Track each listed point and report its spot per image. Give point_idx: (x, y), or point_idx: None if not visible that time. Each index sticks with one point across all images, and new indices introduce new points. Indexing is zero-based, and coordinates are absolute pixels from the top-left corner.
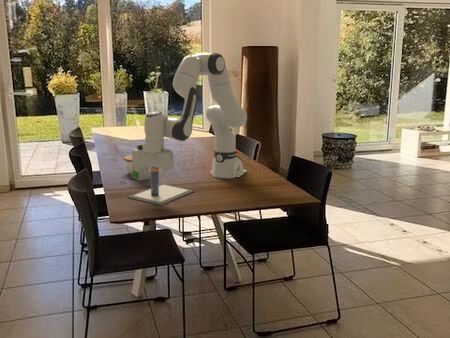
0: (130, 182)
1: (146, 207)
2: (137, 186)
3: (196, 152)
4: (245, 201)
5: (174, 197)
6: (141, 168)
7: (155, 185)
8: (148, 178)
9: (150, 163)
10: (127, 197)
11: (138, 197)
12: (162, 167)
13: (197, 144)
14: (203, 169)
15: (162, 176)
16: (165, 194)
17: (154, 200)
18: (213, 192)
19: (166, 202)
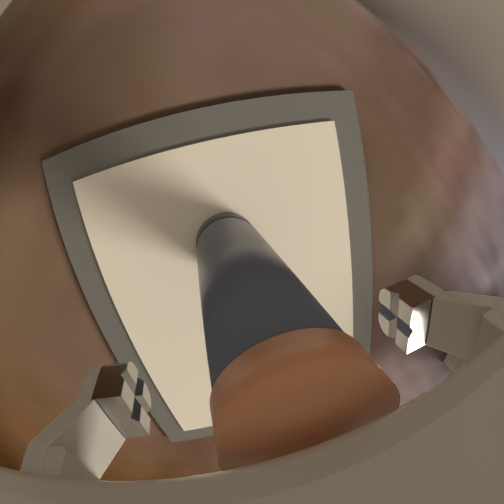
0: (475, 279)
1: (84, 64)
2: (436, 274)
3: None
4: (5, 445)
5: (113, 324)
6: None
7: (202, 263)
8: (445, 360)
9: (448, 465)
10: (347, 91)
11: (281, 123)
12: (7, 489)
13: None
14: None
15: (98, 375)
16: (193, 312)
17: (123, 165)
18: (123, 464)
19: (58, 223)
